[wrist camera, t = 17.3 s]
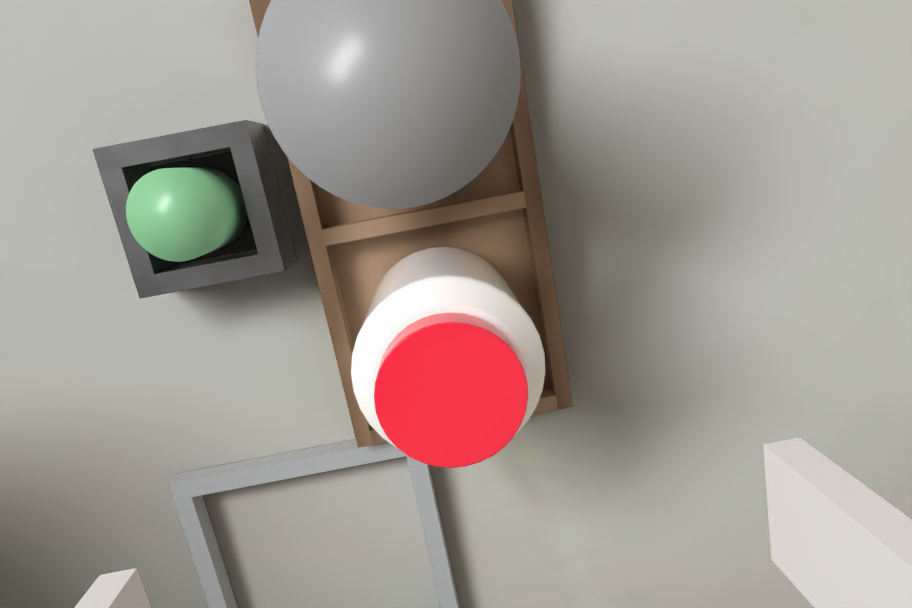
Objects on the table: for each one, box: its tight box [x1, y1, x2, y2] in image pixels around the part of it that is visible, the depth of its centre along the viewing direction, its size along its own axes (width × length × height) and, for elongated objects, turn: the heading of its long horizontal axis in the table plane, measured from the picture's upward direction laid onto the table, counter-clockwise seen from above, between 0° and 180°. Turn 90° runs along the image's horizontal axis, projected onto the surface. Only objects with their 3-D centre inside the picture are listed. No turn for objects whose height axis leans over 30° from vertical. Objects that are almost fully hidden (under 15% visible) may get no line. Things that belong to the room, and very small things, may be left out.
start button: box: [126, 167, 247, 262], centre depth 28 cm, size 4×4×4 cm
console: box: [93, 120, 297, 298], centre depth 30 cm, size 7×7×3 cm
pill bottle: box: [351, 247, 545, 468], centre depth 27 cm, size 8×8×11 cm
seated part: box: [256, 0, 521, 209], centre depth 24 cm, size 8×8×11 cm
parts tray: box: [168, 439, 460, 608], centre depth 35 cm, size 14×14×1 cm
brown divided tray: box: [249, 0, 573, 448], centre depth 31 cm, size 12×22×2 cm, turn 11°
